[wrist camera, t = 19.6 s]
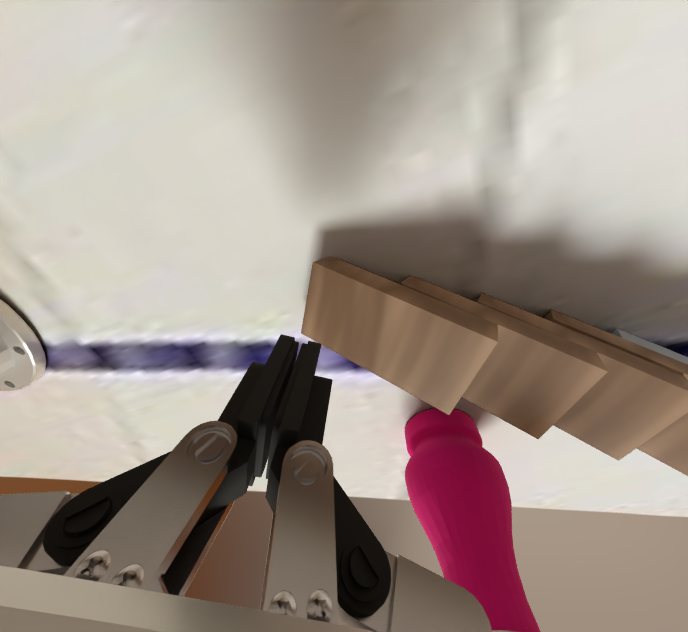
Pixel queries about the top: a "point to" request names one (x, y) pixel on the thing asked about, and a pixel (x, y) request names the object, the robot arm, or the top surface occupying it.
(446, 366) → the domino
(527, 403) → the domino
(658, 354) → the domino
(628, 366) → the domino
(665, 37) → the top surface
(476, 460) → the pepper mill
